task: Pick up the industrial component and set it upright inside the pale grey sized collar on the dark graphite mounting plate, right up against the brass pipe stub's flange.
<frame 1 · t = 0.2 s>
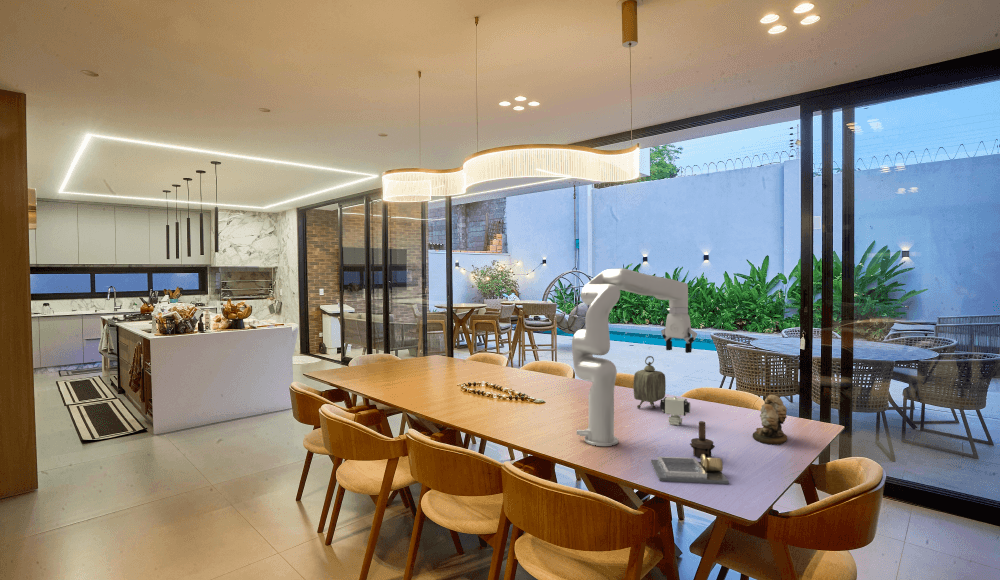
hand: (678, 351, 215), 31 cm above the table, tool pointing down, fingers open, 9 cm apart
tabletop clock: (650, 408, 244), on the table
mounting plate: (687, 472, 160), on the table
industrial component: (699, 456, 176), on the table
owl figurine: (769, 438, 195), on the table
pneumatic valve: (675, 424, 215), on the table
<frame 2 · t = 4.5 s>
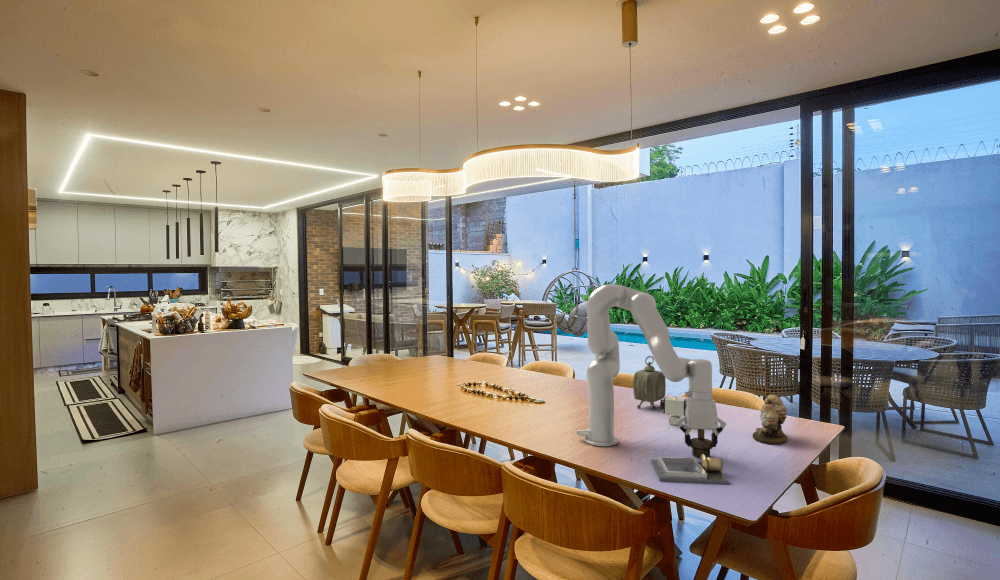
hand: (701, 445, 175), 4 cm above the table, tool pointing down, fingers closed on industrial component, 8 cm apart
industrial component: (698, 456, 176), on the table, touching gripper
everything else where it was.
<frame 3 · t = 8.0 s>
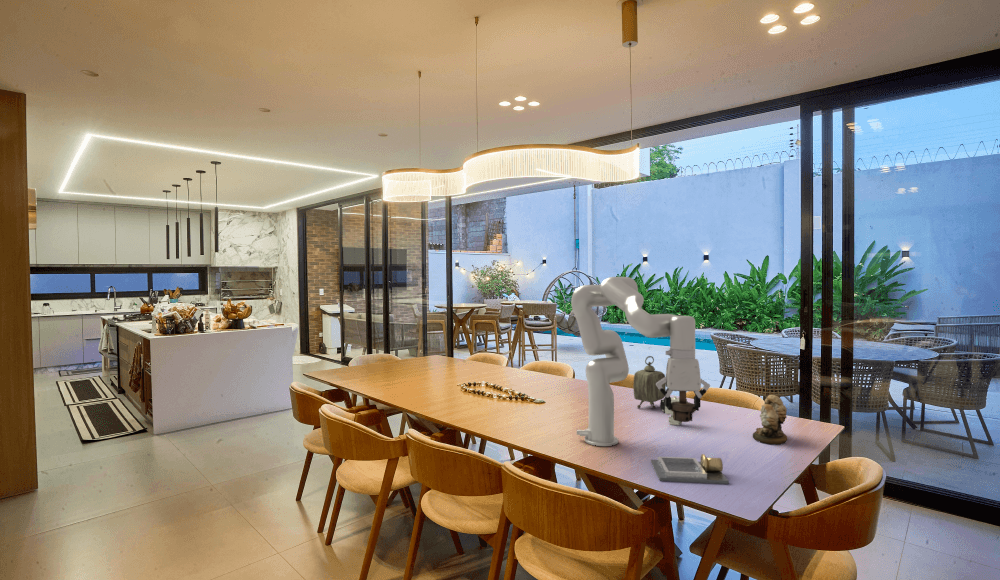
hand: (682, 409, 161), 20 cm above the table, tool pointing down, fingers closed on industrial component, 8 cm apart
industrial component: (680, 420, 161), point 16 cm above the table, touching gripper
everything else where it was.
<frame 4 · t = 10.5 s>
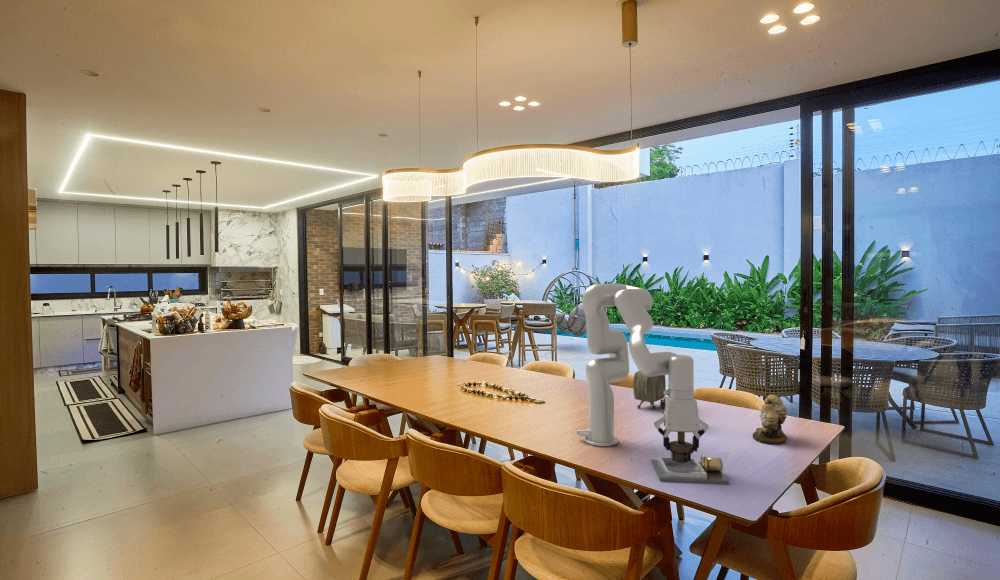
hand: (681, 449, 160), 7 cm above the table, tool pointing down, fingers closed on industrial component, 8 cm apart
industrial component: (678, 461, 160), point 4 cm above the table, touching gripper
everything else where it was.
when the fingers open (7 cm above the table, at t = 11.7 s): industrial component drops 2 cm, resting on mounting plate.
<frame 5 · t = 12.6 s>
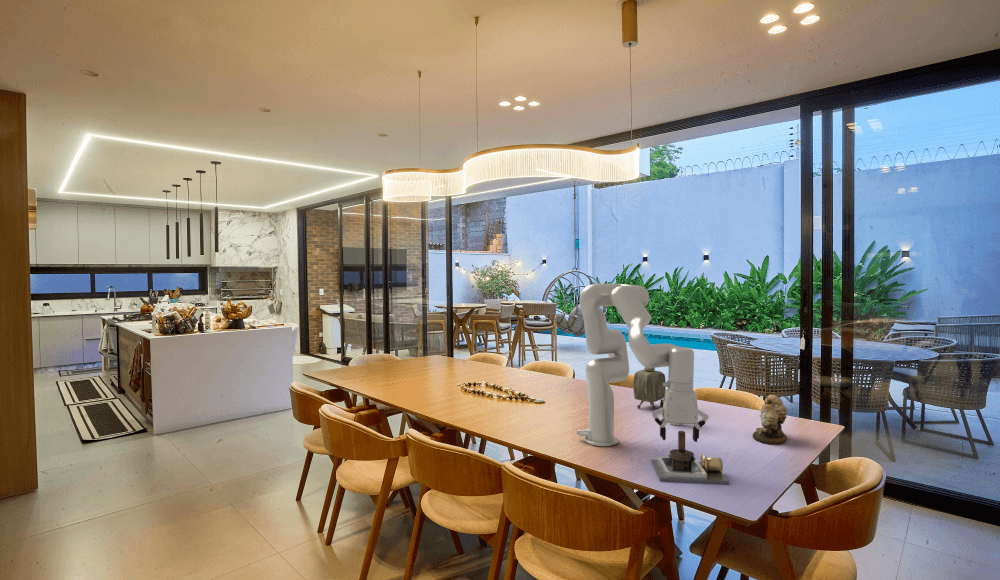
hand: (679, 439, 161), 10 cm above the table, tool pointing down, fingers open, 9 cm apart
industrial component: (679, 469, 161), point 1 cm above the table, touching mounting plate
everything else where it was.
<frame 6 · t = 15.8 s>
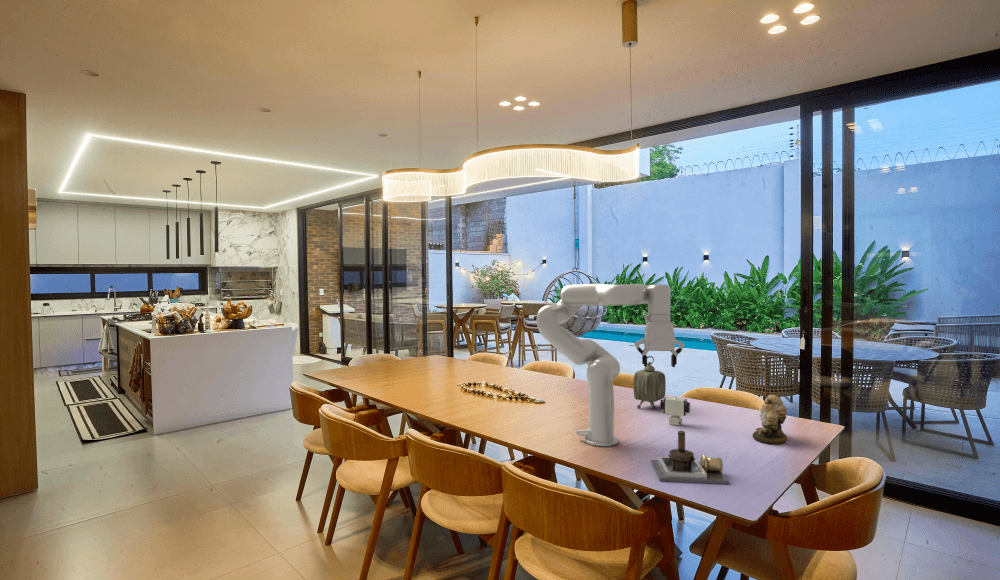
hand: (659, 366, 181), 30 cm above the table, tool pointing down, fingers open, 9 cm apart
nothing on the table moved.
at the end: industrial component 0.8 cm from the target spot on the mounting plate, point 0.8 cm above the mounting plate's base; industrial component tilted 0°; the gripper is holding nothing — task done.
